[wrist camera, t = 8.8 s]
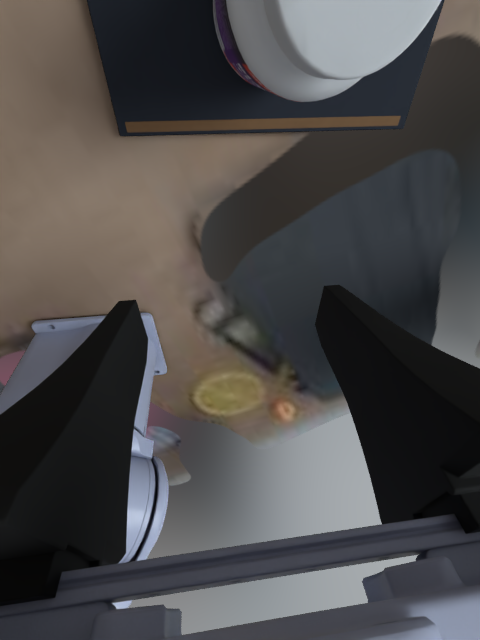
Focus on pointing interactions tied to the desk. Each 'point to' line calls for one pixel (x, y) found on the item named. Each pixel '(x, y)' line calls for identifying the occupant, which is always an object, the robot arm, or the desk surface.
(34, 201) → the desk surface
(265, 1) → the pill bottle
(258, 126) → the felt pad
